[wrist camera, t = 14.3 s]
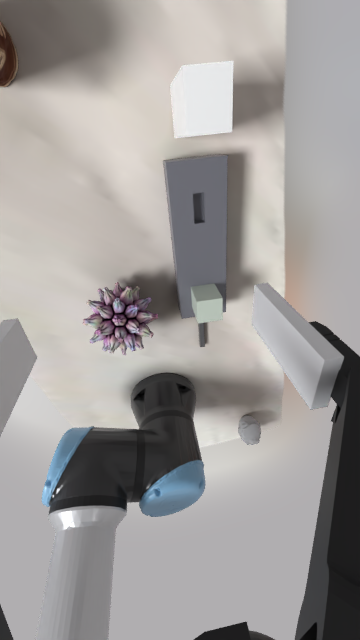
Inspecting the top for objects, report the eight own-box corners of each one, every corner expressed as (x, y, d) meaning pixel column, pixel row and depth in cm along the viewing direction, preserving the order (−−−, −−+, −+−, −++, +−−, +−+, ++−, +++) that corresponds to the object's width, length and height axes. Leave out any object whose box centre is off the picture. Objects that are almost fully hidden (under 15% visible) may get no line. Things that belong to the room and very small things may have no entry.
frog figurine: (232, 426, 75) (240, 450, 69) (236, 411, 71) (245, 434, 65) (253, 424, 76) (262, 448, 70) (258, 409, 72) (268, 432, 66)
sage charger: (214, 303, 46) (222, 319, 42) (192, 307, 46) (197, 323, 42) (214, 283, 44) (222, 297, 40) (190, 286, 44) (196, 301, 40)
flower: (134, 336, 53) (134, 380, 43) (77, 309, 48) (62, 353, 38) (168, 292, 48) (176, 331, 39) (108, 258, 43) (100, 291, 33)
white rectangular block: (206, 134, 36) (232, 132, 27) (173, 138, 36) (186, 136, 26) (205, 83, 33) (233, 60, 24) (168, 87, 33) (182, 65, 23)
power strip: (220, 341, 57) (226, 356, 53) (183, 347, 56) (186, 362, 52) (219, 154, 37) (229, 155, 33) (163, 160, 37) (166, 162, 33)
